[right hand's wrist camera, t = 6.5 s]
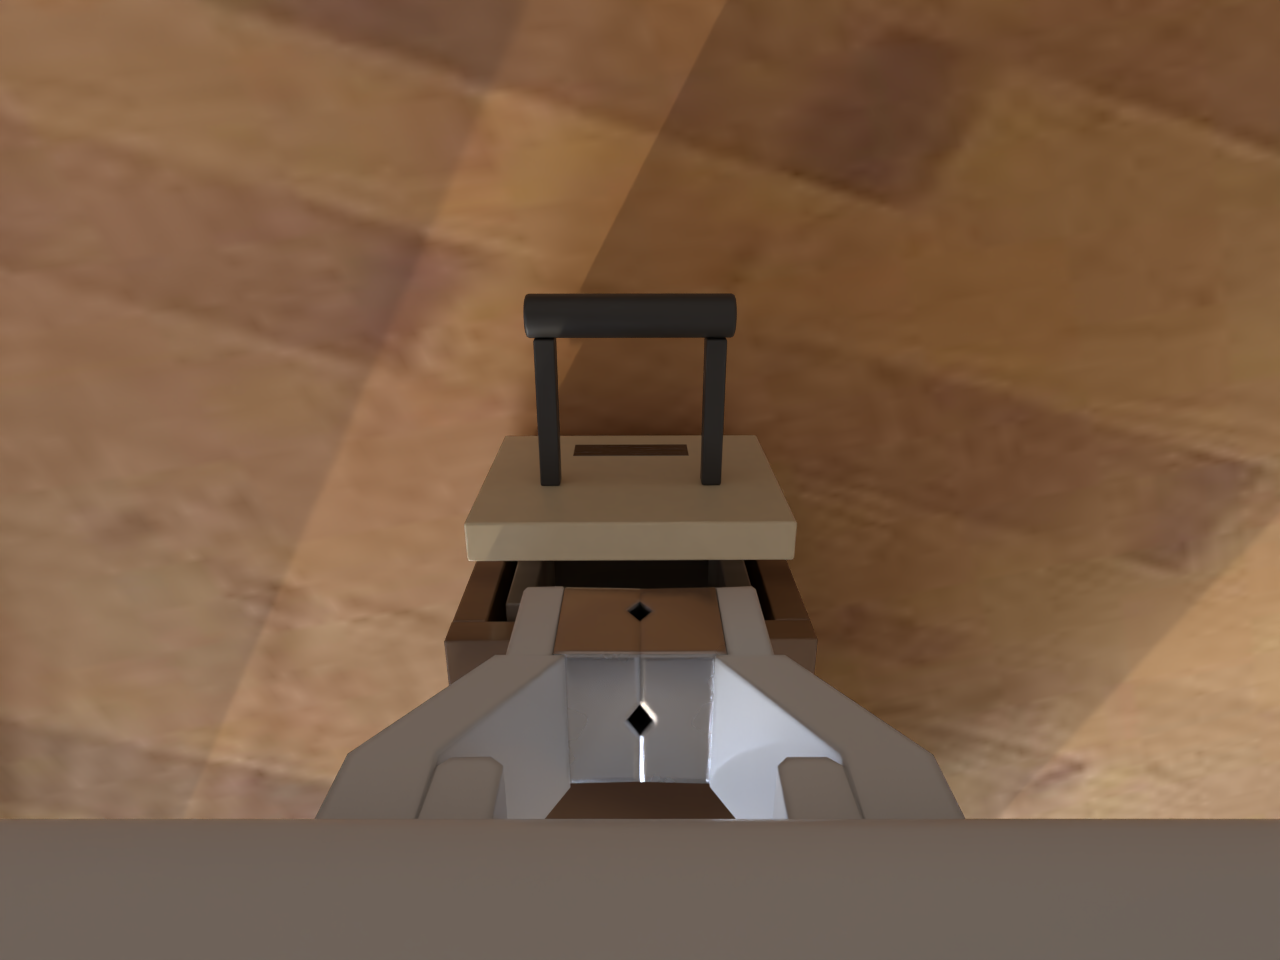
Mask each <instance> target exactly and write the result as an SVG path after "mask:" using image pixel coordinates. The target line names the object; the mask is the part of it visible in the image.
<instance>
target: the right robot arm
mask: <svg viewBox="0 0 1280 960" xmlns="http://www.w3.org/2000/svg"><path fill="white" fill-rule="evenodd" d="M608 782H670V783H707V784H710V788H711V789H712V790H713V791H714V793H715V794H716V795H717V796H718V798H719V799H720V800H721V801H722V802H723V804H724V805H725V806H726V807H727V809H728V810H729V811H730V812H731V814H732V815H733V816H734V817H735V818H736V819H545V818H546V817H547V815H548V814H549V813H550V812H551V810H552V809H553V808H554V807H555V806H556V804H557V803H558V802H559V801H560V799H561V798H562V797H563V796H564V795H565V793H566V792H567V791H568V790H569V788H570V784H573V783H608ZM0 960H1280V819H965V817H964V815H963V813H962V811H961V809H960V807H959V805H958V803H957V801H956V799H955V797H954V795H953V793H952V791H951V789H950V787H949V785H948V783H947V781H946V779H945V777H944V775H943V773H942V771H941V769H940V767H939V765H938V763H937V761H936V759H935V757H934V755H933V754H931V753H930V752H928V751H927V750H925V749H924V748H922V747H921V746H919V745H918V744H916V743H915V742H913V741H912V740H910V739H909V738H908V737H906V736H905V735H903V734H902V733H900V732H899V731H897V730H896V729H894V728H893V727H891V726H890V725H888V724H887V723H885V722H884V721H882V720H881V719H879V718H878V717H876V716H875V715H873V714H872V713H870V712H869V711H867V710H866V709H864V708H863V707H861V706H860V705H859V704H857V703H856V702H854V701H853V700H851V699H850V698H848V697H847V696H845V695H844V694H842V693H841V692H839V691H838V690H836V689H835V688H833V687H832V686H830V685H829V684H827V683H826V682H824V681H823V680H821V679H820V678H818V677H817V676H815V675H814V674H813V673H811V672H810V671H808V670H807V669H805V668H804V667H802V666H801V665H799V664H798V663H796V662H795V661H793V660H792V659H790V658H789V657H787V656H786V655H774V653H773V649H772V645H771V642H770V638H769V635H768V631H767V628H766V624H765V621H764V617H763V614H762V610H761V606H760V603H759V599H758V596H757V592H756V589H755V588H753V587H752V586H744V587H721V588H715V587H701V588H659V589H640V588H586V587H566V588H564V587H563V586H555V587H528V588H526V589H525V590H524V591H523V595H522V599H521V602H520V606H519V609H518V613H517V617H516V620H515V624H514V627H513V631H512V634H511V638H510V642H509V645H508V649H507V652H506V655H494V656H493V657H491V658H490V659H488V660H487V661H485V662H484V663H482V664H481V665H479V666H478V667H476V668H475V669H473V670H472V671H470V672H469V673H467V674H466V675H464V676H463V677H461V678H460V679H458V680H457V681H455V682H454V683H453V684H451V685H450V686H448V687H447V688H445V689H444V690H442V691H441V692H439V693H438V694H436V695H435V696H433V697H432V698H430V699H429V700H427V701H426V702H424V703H423V704H421V705H420V706H418V707H417V708H415V709H414V710H412V711H411V712H409V713H408V714H406V715H405V716H403V717H402V718H400V719H399V720H397V721H396V722H394V723H393V724H391V725H390V726H388V727H387V728H385V729H384V730H382V731H381V732H379V733H378V734H376V735H375V736H373V737H372V738H370V739H369V740H367V741H366V742H365V743H363V744H362V745H360V746H359V747H357V748H356V749H354V750H353V751H351V752H350V753H348V754H347V756H346V758H345V760H344V762H343V764H342V766H341V768H340V770H339V772H338V774H337V776H336V778H335V780H334V782H333V784H332V786H331V788H330V790H329V792H328V794H327V796H326V798H325V800H324V802H323V804H322V806H321V807H320V809H319V811H318V813H317V815H316V817H315V819H0Z"/></svg>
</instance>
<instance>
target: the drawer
mask: <svg viewBox="0 0 1280 960" xmlns="http://www.w3.org/2000/svg"><path fill="white" fill-rule="evenodd" d="M523 313H524V328H525V333H526V335H527V337H529V338H535V339H534V341H533V345H534V364H535V384H536V403H537V423H538V436H506V437H505V439H504V441H503V443H502V445H501V447H500V449H499V451H498V453H497V456H496V458H495V460H494V462H493V464H492V466H491V468H490V470H489V473H488V475H487V477H486V479H485V481H484V483H483V485H482V487H481V490H480V492H479V494H478V496H477V498H476V500H475V502H474V504H473V507H472V509H471V511H470V513H469V515H468V517H467V519H466V521H465V524H464V528H465V539H466V550H467V559H468V561H518V564H517V567H516V571H515V574H514V578H513V581H512V584H511V588H510V591H509V595H508V598H507V602H506V615H507V622H515V620H516V617H517V613H518V609H519V606H520V602H521V599H522V595H523V591H524V590H525V589H526V588H528V587H555V586H563V587H564V588H566V587H586V588H640V589H659V588H701V587H715V588H721V587H744V586H751V583H750V580H749V576H748V573H747V570H746V566H745V563H744V560H792V559H793V558H794V553H795V541H796V529H797V522H796V520H795V518H794V516H793V513H792V511H791V509H790V507H789V505H788V503H787V501H786V498H785V496H784V494H783V492H782V490H781V488H780V486H779V484H778V481H777V479H776V477H775V475H774V473H773V471H772V469H771V466H770V464H769V462H768V460H767V458H766V456H765V454H764V451H763V449H762V447H761V445H760V443H759V441H758V439H757V437H756V436H755V435H723V425H724V402H725V379H726V355H727V340H726V338H731V337H733V336H734V333H735V330H736V319H737V306H736V298H735V295H734V294H527V295H526V296H525V299H524V310H523ZM556 338H705V342H704V373H703V405H702V435H681V436H560V425H559V400H558V375H557V350H556Z"/></svg>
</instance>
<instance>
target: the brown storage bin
mask: <svg viewBox="0 0 1280 960" xmlns="http://www.w3.org/2000/svg"><path fill="white" fill-rule="evenodd" d="M744 563H745V566H746V570H747V573H748V576H749V580H750V583H751V586H752V587H753V588H755V589H756V592H757V596H758V599H759V603H760V606H761V610H762V614H763V617H764V621H765V624H766V628H767V631H768V635H769V638H770V642H771V645H772V649H773V653H774V655H786V656H787V657H789V658H790V659H792V660H793V661H795V662H796V663H798V664H799V665H801V666H802V667H804V668H805V669H807V670H808V671H810V672H811V673H813V674H814V670H815V660H816V650H817V640H818V639H817V637H816V634H815V632H814V629H813V627H812V624H811V622H810V619H809V617H808V614H807V612H806V609H805V607H804V604H803V601H802V599H801V596H800V594H799V591H798V589H797V586H796V584H795V581H794V579H793V576H792V574H791V571H790V569H789V566H788V564H787V561H786V560H744ZM517 564H518V561H476V564H475V566H474V569H473V571H472V574H471V576H470V579H469V581H468V584H467V587H466V589H465V592H464V594H463V597H462V599H461V602H460V604H459V607H458V609H457V612H456V614H455V617H454V619H453V622H452V623H451V626H450V628H449V631H448V633H447V636H446V638H445V641H444V644H445V653H446V662H447V671H448V680H449V686H450V685H451V684H453V683H454V682H455V681H457V680H458V679H460V678H461V677H463V676H464V675H466V674H467V673H469V672H470V671H472V670H473V669H475V668H476V667H478V666H479V665H481V664H482V663H484V662H485V661H487V660H488V659H490V658H491V657H493V656H494V655H506V652H507V649H508V645H509V642H510V638H511V634H512V631H513V627H514V624H515V622H507V615H506V602H507V598H508V595H509V591H510V588H511V584H512V581H513V578H514V574H515V571H516V567H517ZM545 819H736V818H735V817H734V816H733V815H732V814H731V812H730V811H729V810H728V809H727V807H726V806H725V805H724V804H723V802H722V801H721V800H720V799H719V798H718V796H717V795H716V794H715V793H714V791H713V790H712V789H711V788H710V784H707V783H670V782H608V783H573V784H570V788H569V790H568V791H567V792H566V793H565V795H564V796H563V797H562V798H561V799H560V801H559V802H558V803H557V804H556V806H555V807H554V808H553V809H552V810H551V812H550V813H549V814H548V815H547V817H546V818H545Z"/></svg>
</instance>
